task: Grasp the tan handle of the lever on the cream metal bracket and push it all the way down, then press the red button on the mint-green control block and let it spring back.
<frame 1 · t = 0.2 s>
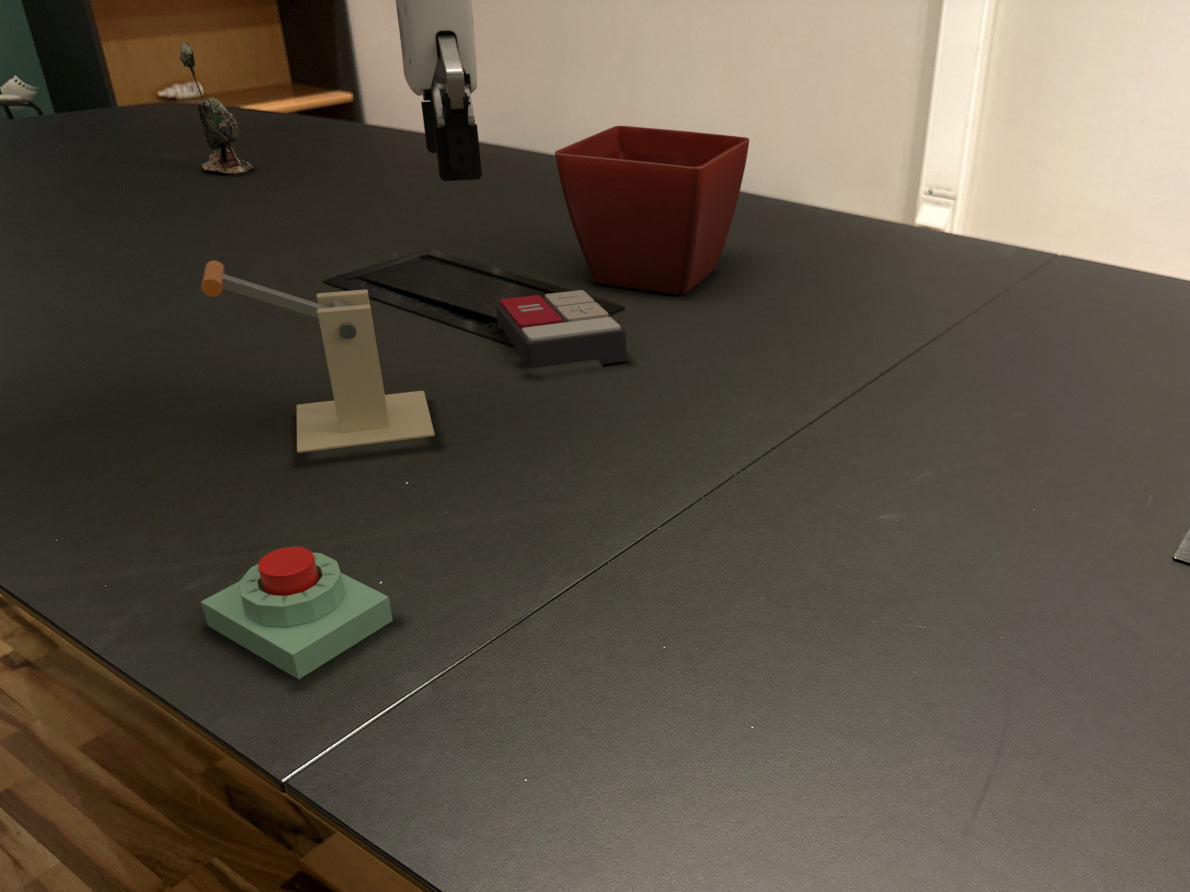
hand: (453, 164, 86), 25 cm above the table, tool pointing down, fingers open, 9 cm apart
lever: (285, 300, 91), point 13 cm above the table, hinge at 25.0°
bracket: (365, 430, 100), on the table
control block: (301, 624, 74), on the table
flower pot: (656, 277, 140), on the table
button: (288, 571, 72), point 5 cm above the table, slide at 0.2 cm
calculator: (560, 346, 119), on the table
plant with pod: (228, 171, 181), on the table
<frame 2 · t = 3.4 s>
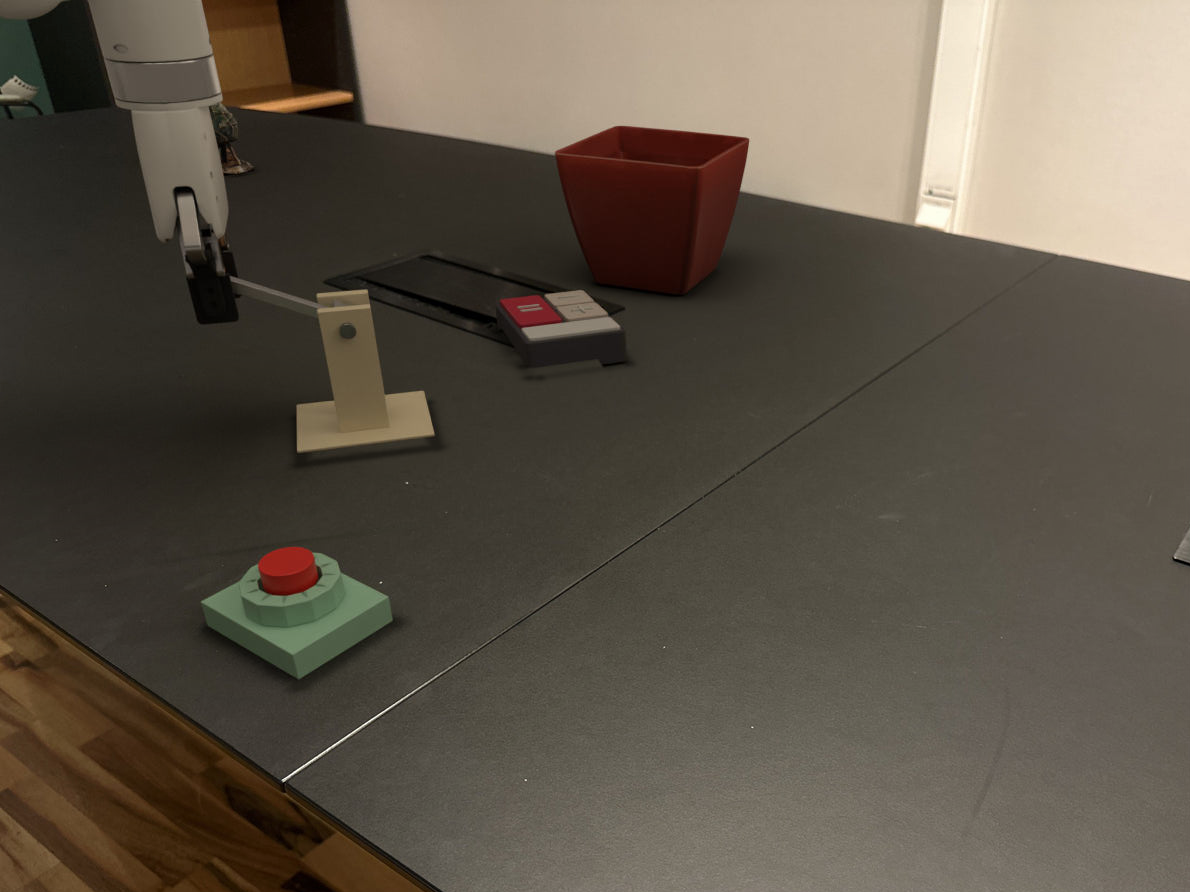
hand: (220, 307, 90), 13 cm above the table, tool pointing down, fingers closed on lever, 5 cm apart
lever: (285, 300, 91), point 13 cm above the table, hinge at 25.0°, touching gripper
everything else where it was.
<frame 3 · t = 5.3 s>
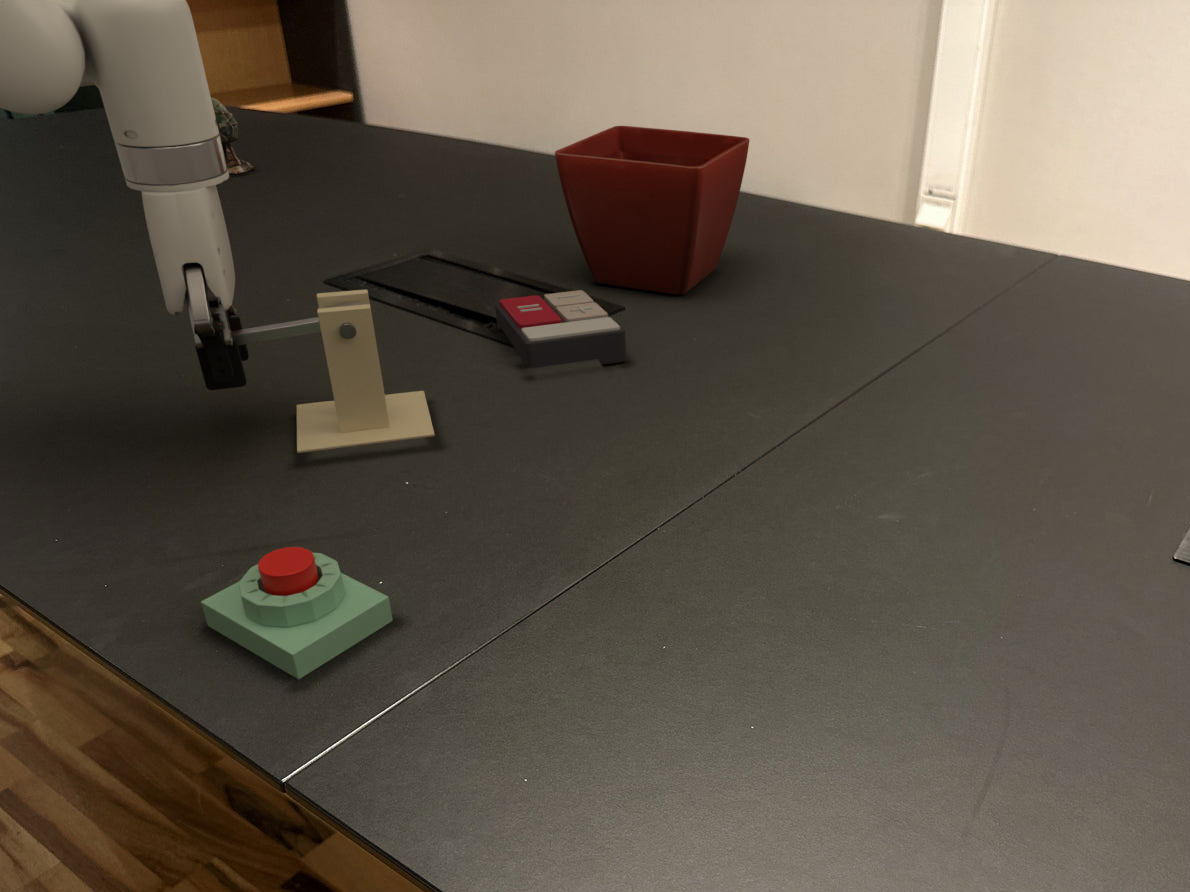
hand: (228, 371, 93), 7 cm above the table, tool pointing down, fingers closed on lever, 5 cm apart
lever: (285, 329, 93), point 11 cm above the table, hinge at -4.6°, touching gripper
everything else where it was.
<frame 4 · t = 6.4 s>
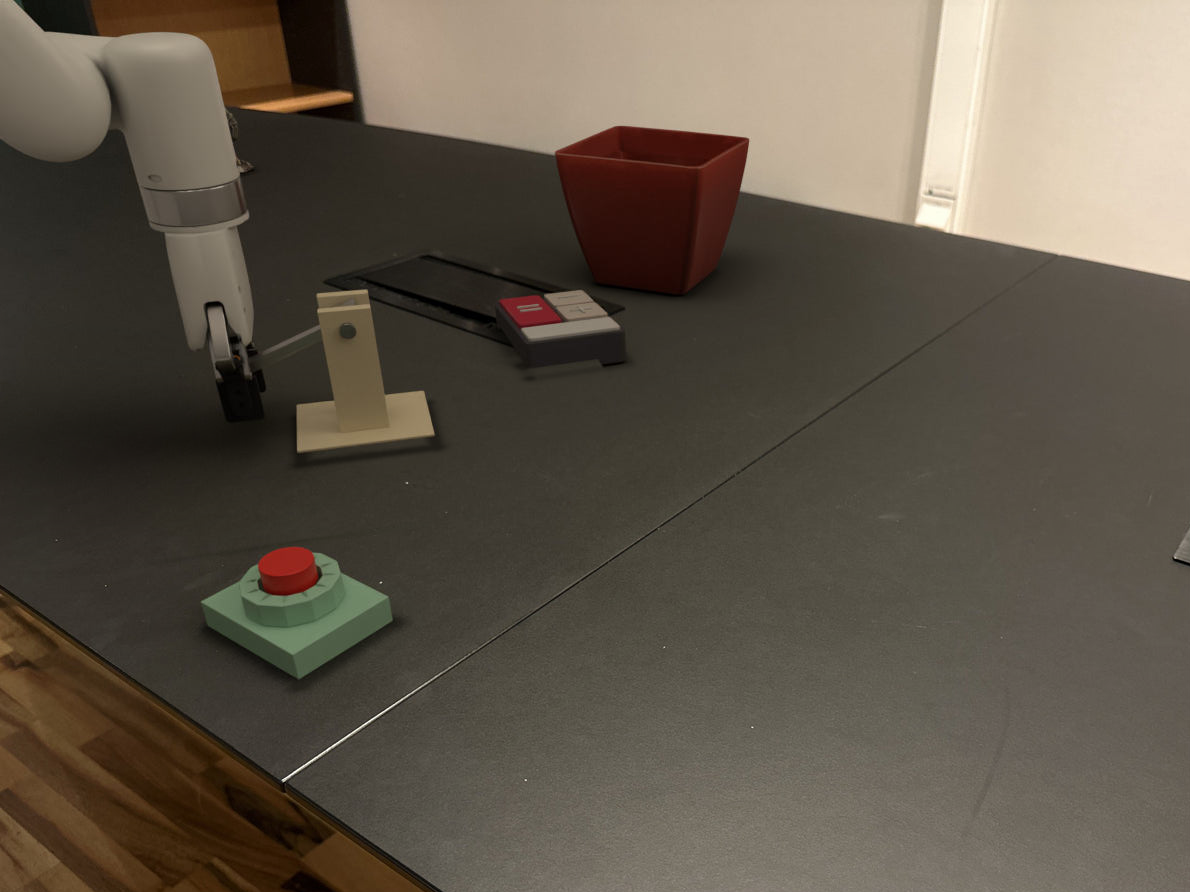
hand: (247, 404, 95), 4 cm above the table, tool pointing down, fingers closed on lever, 5 cm apart
lever: (293, 345, 94), point 9 cm above the table, hinge at -21.3°, touching gripper
everything else where it was.
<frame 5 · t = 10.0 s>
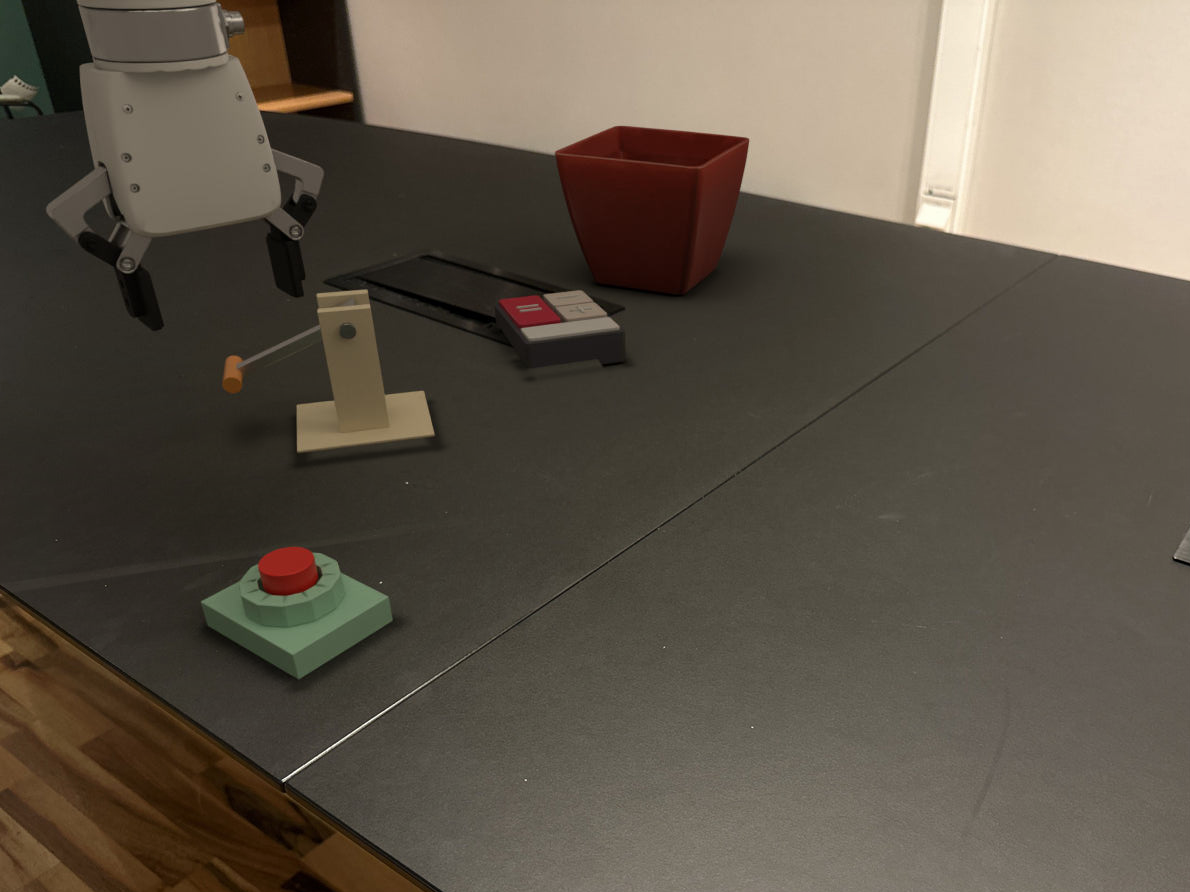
hand: (223, 308, 73), 19 cm above the table, tool pointing down, fingers open, 9 cm apart
lever: (293, 345, 94), point 9 cm above the table, hinge at -21.5°
everything else where it was.
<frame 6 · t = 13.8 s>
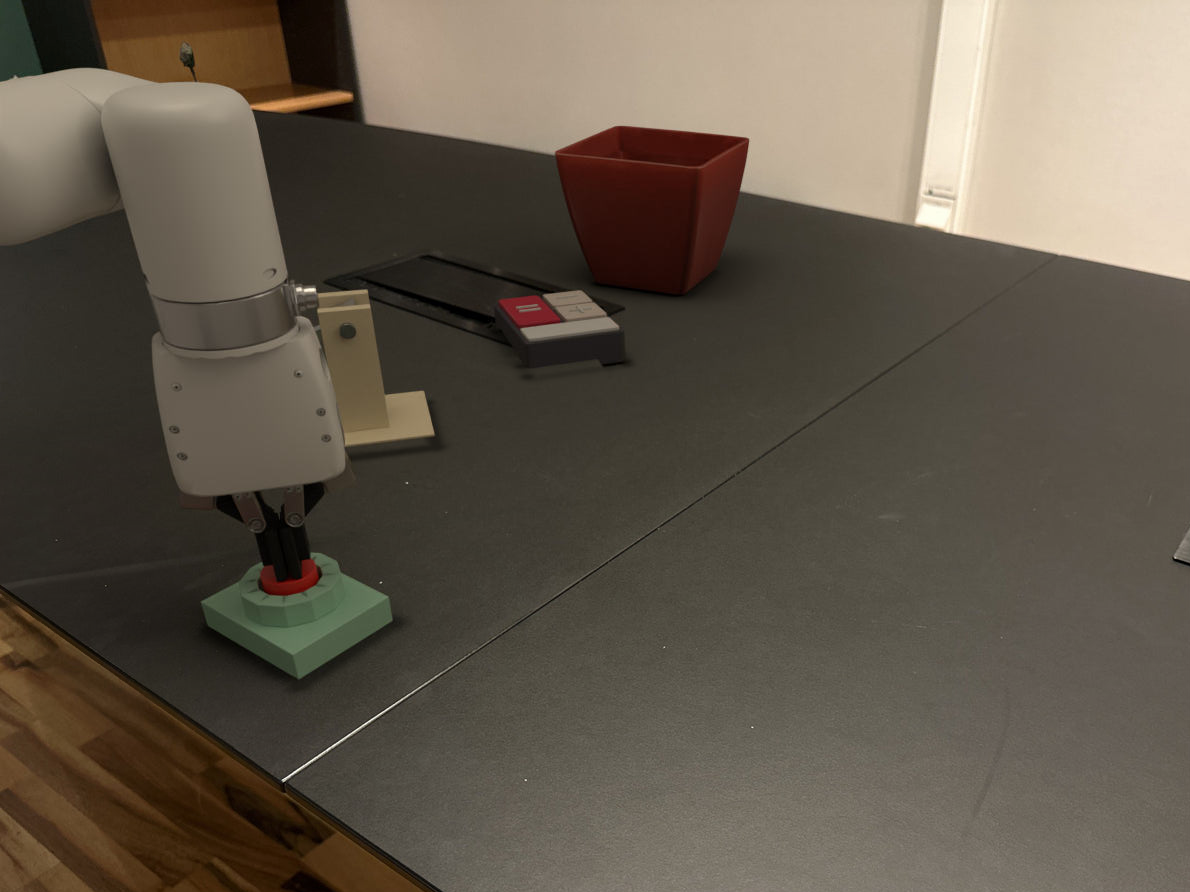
hand: (289, 569, 72), 5 cm above the table, tool pointing down, fingers closed
button: (290, 579, 72), point 4 cm above the table, slide at -0.5 cm, touching gripper
everything else where it was.
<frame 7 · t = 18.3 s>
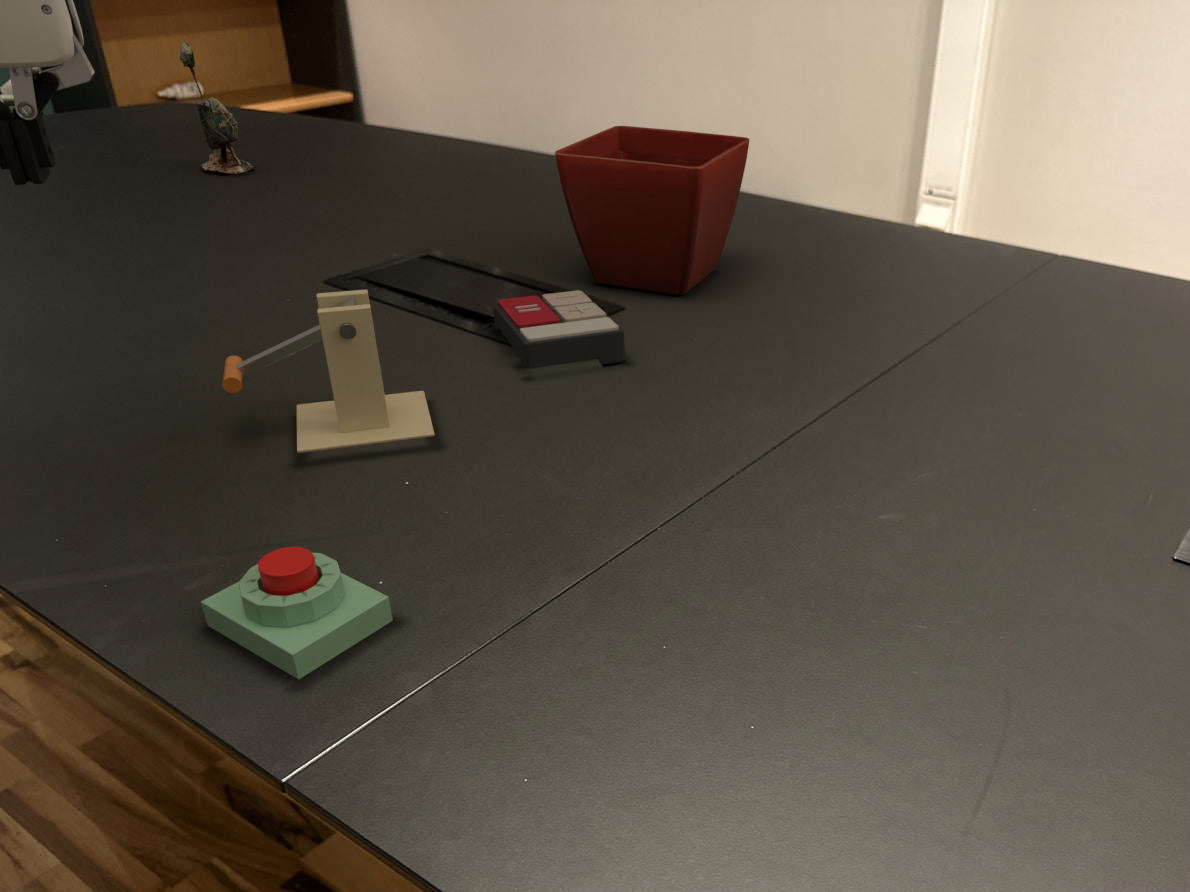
hand: (33, 179, 71), 27 cm above the table, tool pointing down, fingers closed
button: (288, 571, 72), point 5 cm above the table, slide at 0.2 cm
everything else where it was.
at the end: lever at -22° (first picture: +25°); button pushed in 1.1 cm at the most during the clip, back to 0.2 cm at the end; button slide at 0.2 cm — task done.
